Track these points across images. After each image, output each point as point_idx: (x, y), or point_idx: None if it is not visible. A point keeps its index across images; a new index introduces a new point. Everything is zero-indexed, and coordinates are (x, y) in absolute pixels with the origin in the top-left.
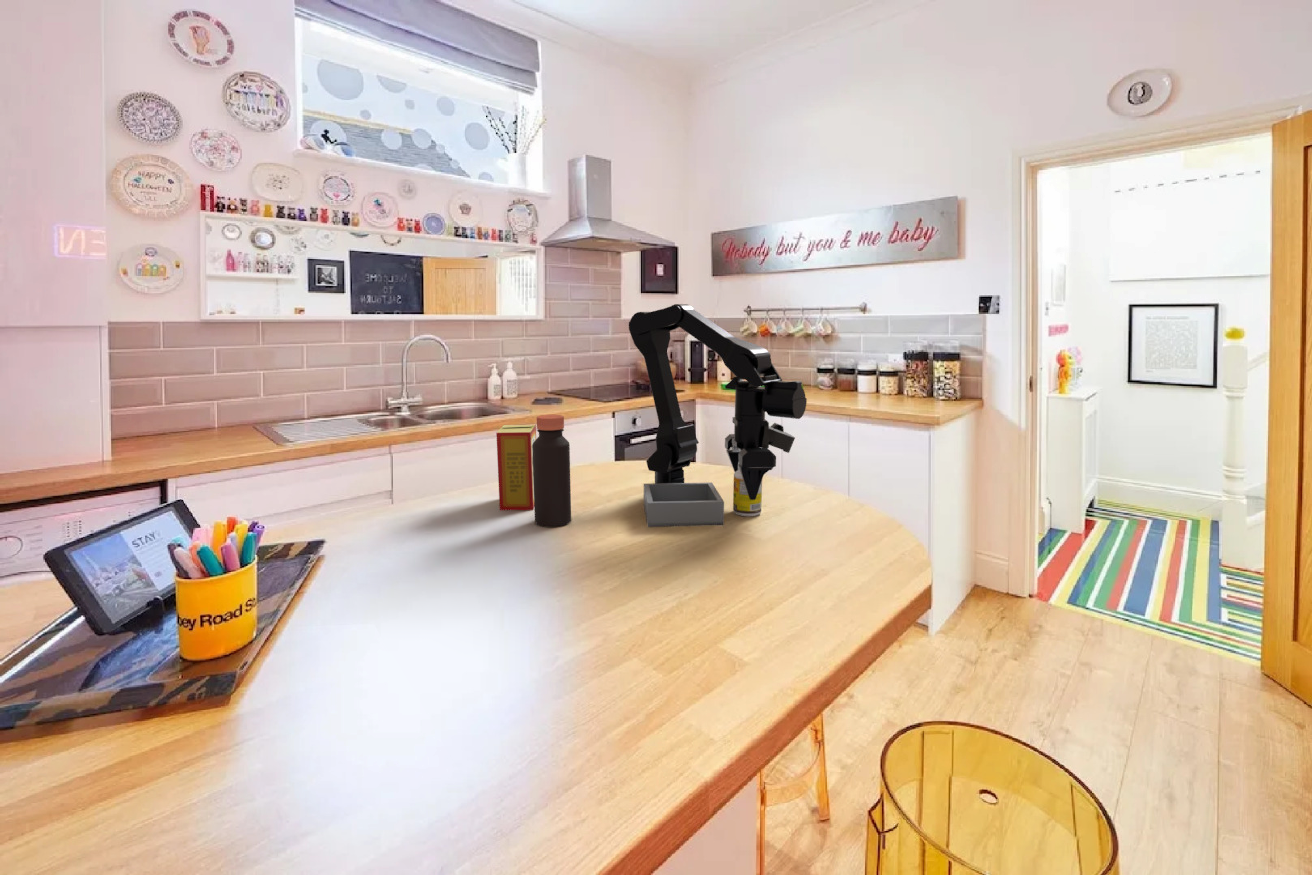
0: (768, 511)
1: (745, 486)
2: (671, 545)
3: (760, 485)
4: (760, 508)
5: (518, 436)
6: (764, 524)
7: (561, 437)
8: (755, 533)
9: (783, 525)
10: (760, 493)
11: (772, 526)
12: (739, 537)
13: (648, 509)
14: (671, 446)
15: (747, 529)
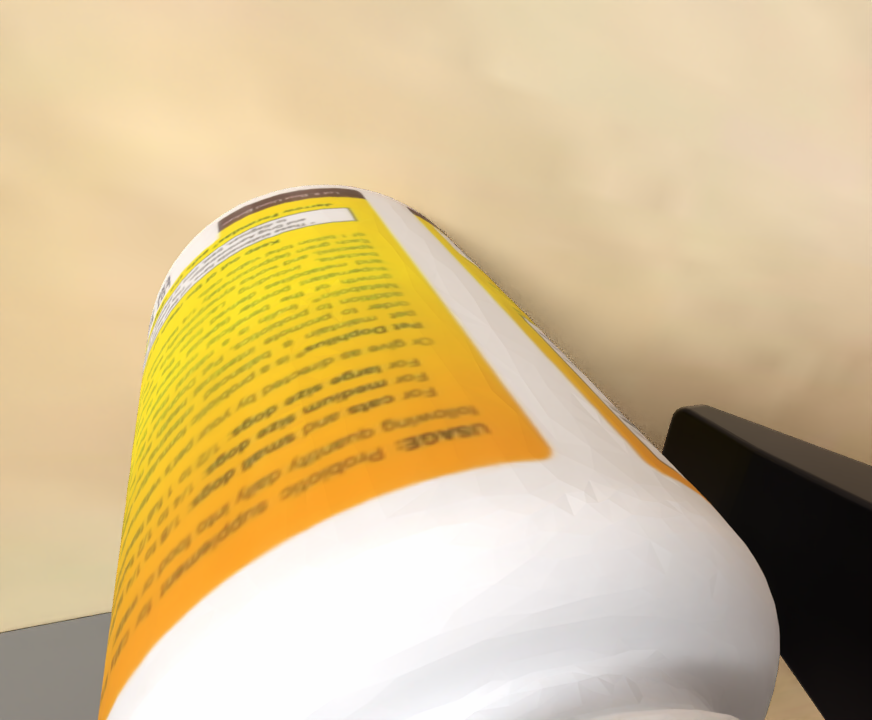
0: (254, 53)
1: (785, 643)
2: (785, 687)
3: (613, 406)
4: (441, 231)
5: None
6: (681, 222)
7: None
8: (824, 329)
9: (767, 33)
10: (533, 326)
11: (750, 160)
12: (836, 431)
13: None
14: None
15: (735, 373)
